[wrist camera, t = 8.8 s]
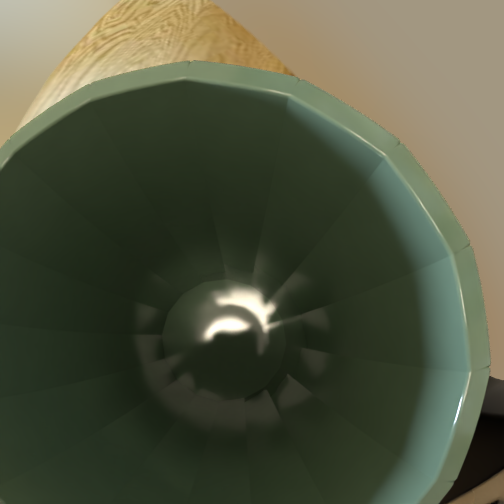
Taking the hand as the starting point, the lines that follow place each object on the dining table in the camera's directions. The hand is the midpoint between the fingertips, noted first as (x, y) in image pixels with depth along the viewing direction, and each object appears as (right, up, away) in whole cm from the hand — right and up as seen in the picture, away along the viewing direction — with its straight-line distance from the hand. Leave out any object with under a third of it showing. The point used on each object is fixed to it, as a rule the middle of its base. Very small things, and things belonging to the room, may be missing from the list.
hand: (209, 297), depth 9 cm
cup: (0, -3, +6) cm, 7 cm away
